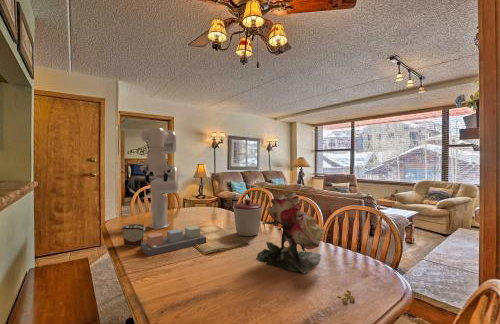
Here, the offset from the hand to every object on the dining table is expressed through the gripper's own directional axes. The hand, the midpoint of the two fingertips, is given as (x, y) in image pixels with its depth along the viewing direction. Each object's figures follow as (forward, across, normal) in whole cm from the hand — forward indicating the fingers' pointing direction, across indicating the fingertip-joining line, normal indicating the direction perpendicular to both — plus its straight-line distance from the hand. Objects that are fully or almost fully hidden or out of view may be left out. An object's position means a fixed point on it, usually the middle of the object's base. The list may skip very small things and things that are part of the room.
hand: (156, 182), depth 131 cm
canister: (+33, -46, +23) cm, 61 cm away
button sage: (+30, -14, +13) cm, 36 cm away
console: (+32, -4, +13) cm, 35 cm away
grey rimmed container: (+33, +10, -3) cm, 34 cm away
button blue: (+30, -4, +13) cm, 33 cm away
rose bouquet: (+33, -38, +64) cm, 81 cm away
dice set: (+34, -25, +95) cm, 104 cm away
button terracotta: (+30, +6, +12) cm, 33 cm away
